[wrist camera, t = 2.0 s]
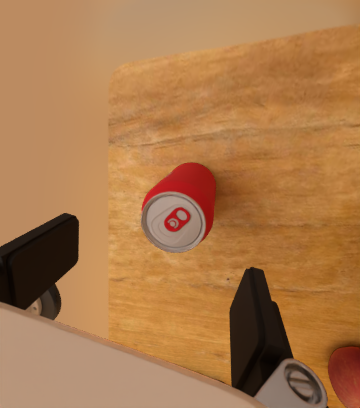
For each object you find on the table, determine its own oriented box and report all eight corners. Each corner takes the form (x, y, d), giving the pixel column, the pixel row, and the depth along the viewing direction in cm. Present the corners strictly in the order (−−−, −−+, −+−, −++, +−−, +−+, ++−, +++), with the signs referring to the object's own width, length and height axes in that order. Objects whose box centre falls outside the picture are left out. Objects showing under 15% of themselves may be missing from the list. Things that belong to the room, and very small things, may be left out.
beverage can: (160, 185, 28) (119, 221, 17) (191, 151, 26) (168, 167, 14) (193, 216, 28) (175, 271, 17) (226, 185, 26) (230, 227, 15)
